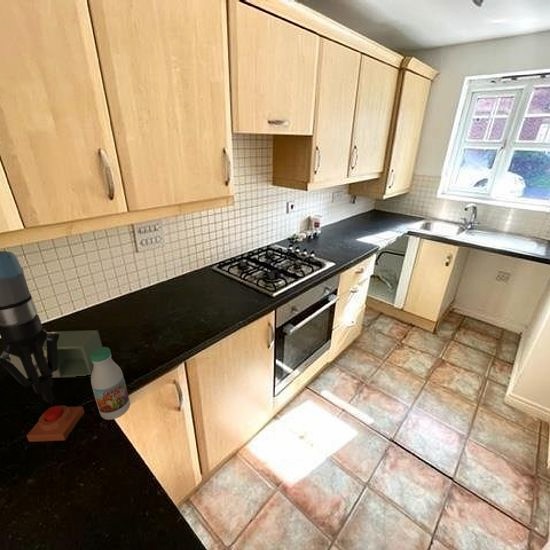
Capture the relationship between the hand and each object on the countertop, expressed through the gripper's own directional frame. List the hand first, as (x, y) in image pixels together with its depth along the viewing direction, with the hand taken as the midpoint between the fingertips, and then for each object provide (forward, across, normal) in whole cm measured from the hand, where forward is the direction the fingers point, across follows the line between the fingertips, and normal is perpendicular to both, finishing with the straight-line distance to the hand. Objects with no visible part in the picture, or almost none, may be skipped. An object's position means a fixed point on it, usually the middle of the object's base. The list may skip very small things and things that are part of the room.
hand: (48, 399), depth 77 cm
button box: (+9, 0, 0) cm, 9 cm away
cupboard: (+9, -17, -19) cm, 27 cm away
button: (+6, 0, 0) cm, 6 cm away
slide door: (+8, -5, -23) cm, 25 cm away
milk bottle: (+10, -11, +8) cm, 17 cm away
